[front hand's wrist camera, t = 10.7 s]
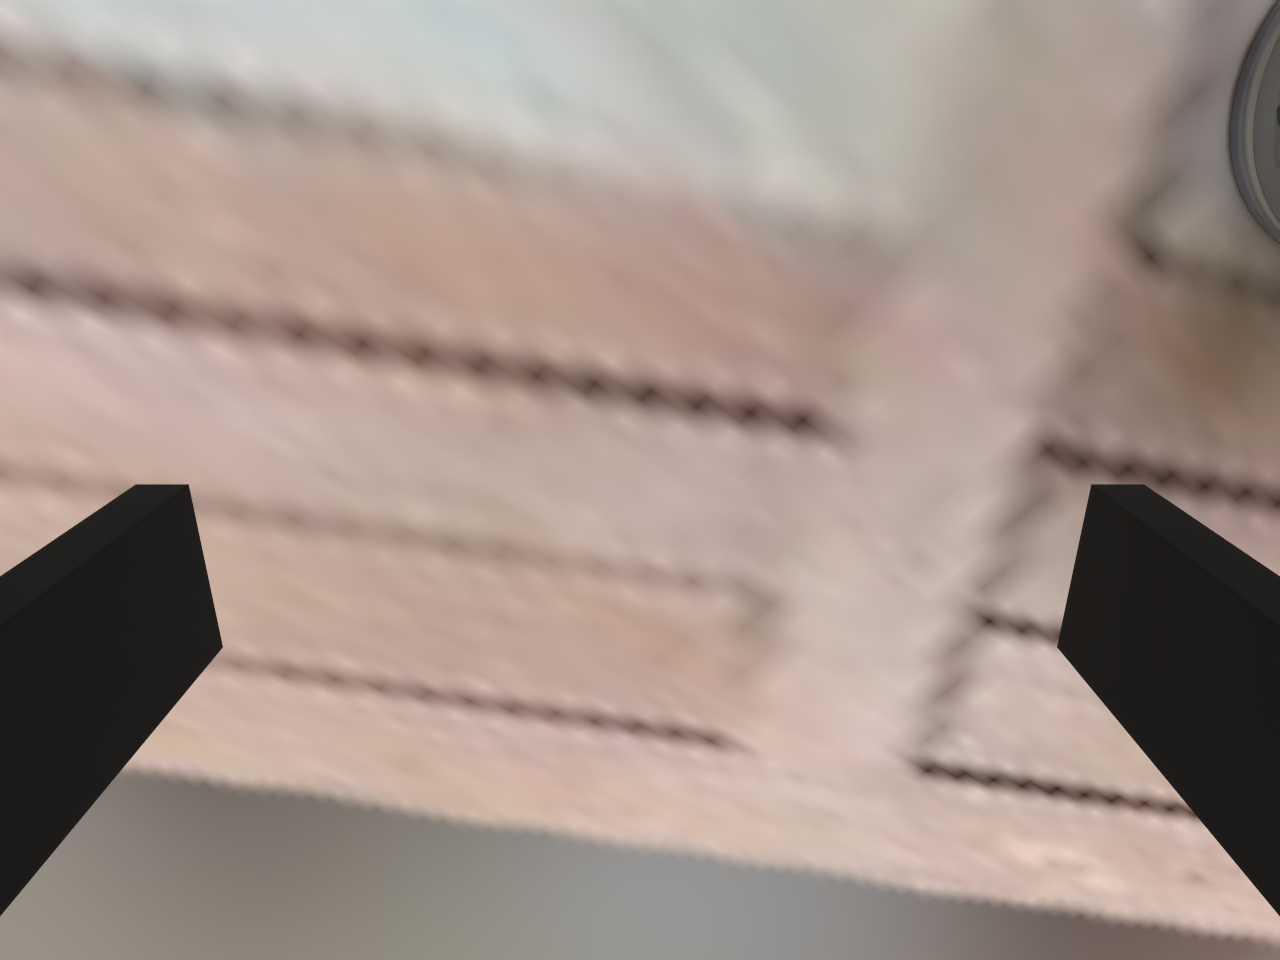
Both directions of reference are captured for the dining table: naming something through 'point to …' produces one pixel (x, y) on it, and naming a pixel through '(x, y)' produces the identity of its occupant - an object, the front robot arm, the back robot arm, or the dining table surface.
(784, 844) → the dining table surface
